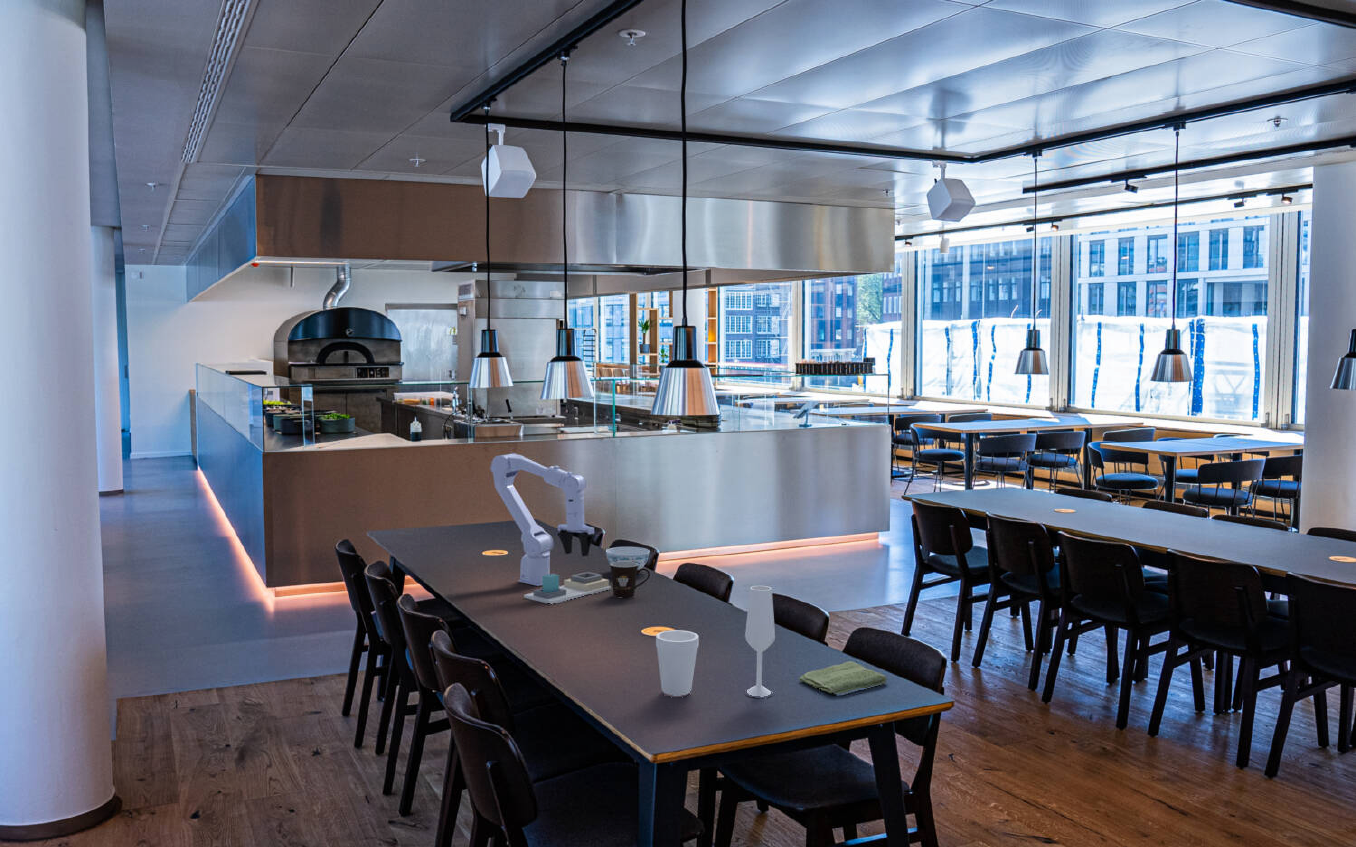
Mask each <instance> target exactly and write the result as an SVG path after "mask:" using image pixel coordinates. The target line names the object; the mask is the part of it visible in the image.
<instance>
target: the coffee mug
mask: <svg viewBox="0 0 1356 847" xmlns="http://www.w3.org/2000/svg"><path fill="white" fill-rule="evenodd" d="M609 564H610V563H609ZM609 567H610V571H611V572H610V573H611V574H610V576H611V583H612V593H613V594H612V595H613V597H614V596H616V597H622V598H621V599H630V598H629V597H632V598H634V597H635V592H636V589H637V588H638V587H639V586H642V585H643V584H645V583H646V582H647V581H648V580H649V579H650V576H651V573H650V571H649V570H648V569H647V568H643V567H642V568H641V569H639V570H638V563H635V562H628V561H620V562H613V563H611V564H610V566H609ZM642 571H645V572H646V573H647V574H648V576H647V578H646V579H644V580H643V581H641V582H640V583H638V584H637V576H638V575H639V574H640V572H642ZM633 596H634V597H633ZM616 597H615V598H616Z"/></svg>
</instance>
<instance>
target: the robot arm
mask: <svg viewBox="0 0 1356 847" xmlns="http://www.w3.org/2000/svg"><path fill="white" fill-rule="evenodd" d="M490 464H491V465H490V468H489V470H490V471H491V473H492V475H493V477H492V478H493V484H494V488H495V490H496V491H497V493H498V495H499V497H500V498H501V499H502V501H503V504H505V507H506V508H507V510H508V512H509V513H510V515H511V517H512V518H513V520H514V522H515V523H516V525H517V526H518V528H519V530H520V531H521V536H520V540H521V542H522V544H523V551H524V553H525V554H524V555H523V556H522V557H521V560H520V570H519V571H520V575H519V576H520V579H518V582H519V583H524V584H528V585H531V586H532V585H533V586H536V587H539V586H543V576H544V575H549V574H550V572H551V571H550V569H551V568H550V564H551V563H550V561H551V559H550V558H551V551H552V549H553V547H554V539H553V536H551V535H550V534H549V533H548V532H546V531H545V529H544V528H543V527H542V526H541V525H538V524H537V522H536V521H535V519H534V517H533V516H532V514H531V511H529V509H528V507H527V505H526V504H525V502H524V501H523V499H522V497H521V496H520V494H519V492H518V491H517V488H516V487H515V486H514V481H515V478H516V476H517V475H518V473H519V472H520V471H525V472H528V473H531V474H532V475H536V476H538V477H542V479H543V480H544V482H545V483H546V484H548V485H551V486H554V487H557V488H558V489H561V490H562V491H563V492H564V494H565V510H566V511H565V514H566V524H557V531H558V532H557V536H558V538H559V540H560V541H561V544H562V547H563V550H564V553H565V555H569V554H572V551H573V539H574V538H573V537H574V533H579V534H578V535H577V537H578V540H579V543H580V550H581V556H582V557H587V556H589V554H590V549H591V548H590V547H591V544H592V542H593V540H594V538H595V527H593V526H589V525H587V524H585V502H584V499H585V498H584V491H585V489H586V487H587V480H586V478H585V477H584V476H583V475H581V474H580V473H575V474H573V472H572V471H566V470H563V469H561V468H560V466H559V465H552V466H549V467H547V466H545V465H542V464H540V463H538V462H536V461H534V460H531V459H529V458H527V457H525V456H524V455H522V454H517V453H515V452H510V453H509V454H502V455H501V454H500V455H495V457H494V458H493V459H492V461H491V463H490Z"/></svg>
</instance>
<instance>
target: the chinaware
mask: <svg viewBox="0 0 1356 847" xmlns="http://www.w3.org/2000/svg"><path fill="white" fill-rule="evenodd" d="M650 553H651V551H650V550H649V549H648V548H645V547H640V546H615V547H611V548H607V549H606V550H605V555H606V558H607V561H608V563H609V564H611V563H613V562H620V561H628V562H635V563H638V570H639V569H642V568H643V567H644V566H645V565H646V564H647V562H648V560H649V556H650Z"/></svg>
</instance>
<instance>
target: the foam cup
mask: <svg viewBox="0 0 1356 847" xmlns="http://www.w3.org/2000/svg"><path fill="white" fill-rule="evenodd" d="M699 642H700V641H699V635H698V634H697V633H696V632H693V631H689V630H681V629H678V630H677V629H676V630H663V631H661V632H657V634H656V636H655V646H656V651H657V660H658V667H659V677H660V685H661V692H662V691H663V692H664V693H666V694H669V695H673V696H681V695H686V694H688V693H690V691H692V688H693V679H694V675H695V674H694V672H695V668H696V660H697V655H698V654H697V653H698V648H699V645H700V644H699ZM690 694H691V693H690Z"/></svg>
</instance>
